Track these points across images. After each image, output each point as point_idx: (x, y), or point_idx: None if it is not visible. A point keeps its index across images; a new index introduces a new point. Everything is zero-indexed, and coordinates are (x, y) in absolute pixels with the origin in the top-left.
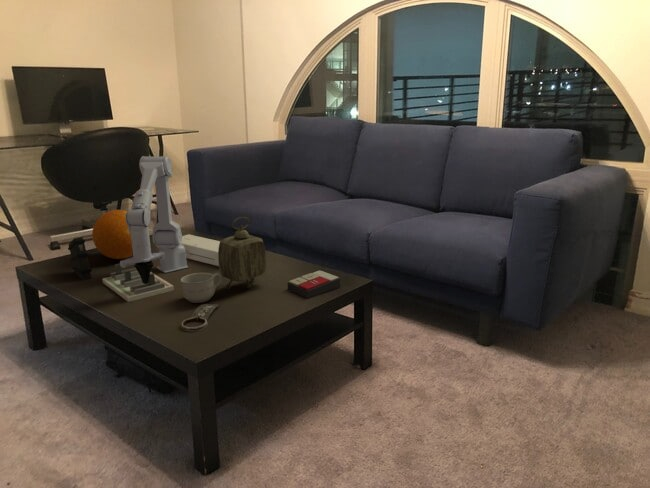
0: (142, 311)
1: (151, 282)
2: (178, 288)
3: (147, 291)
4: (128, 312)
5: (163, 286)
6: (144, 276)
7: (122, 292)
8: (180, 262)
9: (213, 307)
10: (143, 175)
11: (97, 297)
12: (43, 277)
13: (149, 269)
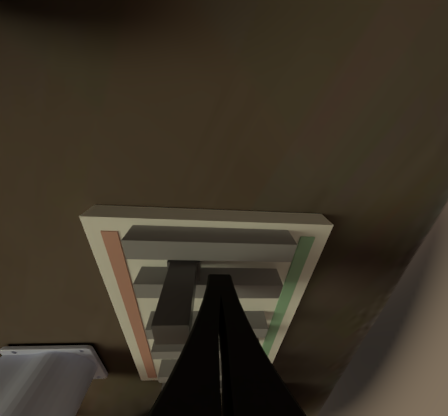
0: (389, 13)
1: (188, 275)
2: (67, 208)
3: (229, 230)
4: (430, 79)
5: (135, 230)
6: (238, 322)
7: (302, 283)
8: (8, 378)
9: None
10: None
11: (342, 304)
12: (316, 407)
13: (187, 396)
